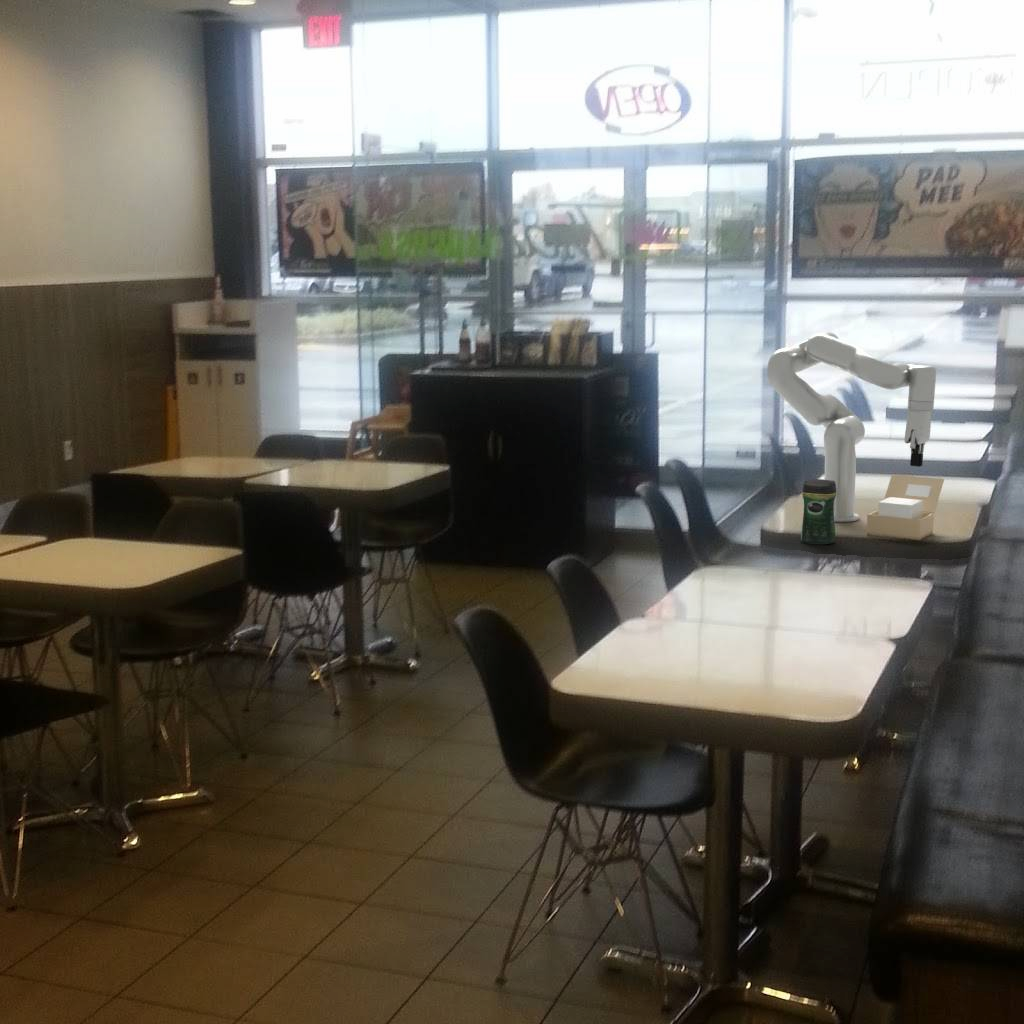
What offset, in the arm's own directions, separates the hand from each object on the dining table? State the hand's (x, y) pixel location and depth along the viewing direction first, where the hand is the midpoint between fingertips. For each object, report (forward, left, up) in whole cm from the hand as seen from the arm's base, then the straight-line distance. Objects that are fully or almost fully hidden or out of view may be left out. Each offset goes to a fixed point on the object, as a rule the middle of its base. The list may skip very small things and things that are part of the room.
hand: (916, 465), depth 408 cm
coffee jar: (-15, -38, -19) cm, 45 cm away
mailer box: (+1, -14, -19) cm, 23 cm away
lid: (+1, -4, -8) cm, 9 cm away
